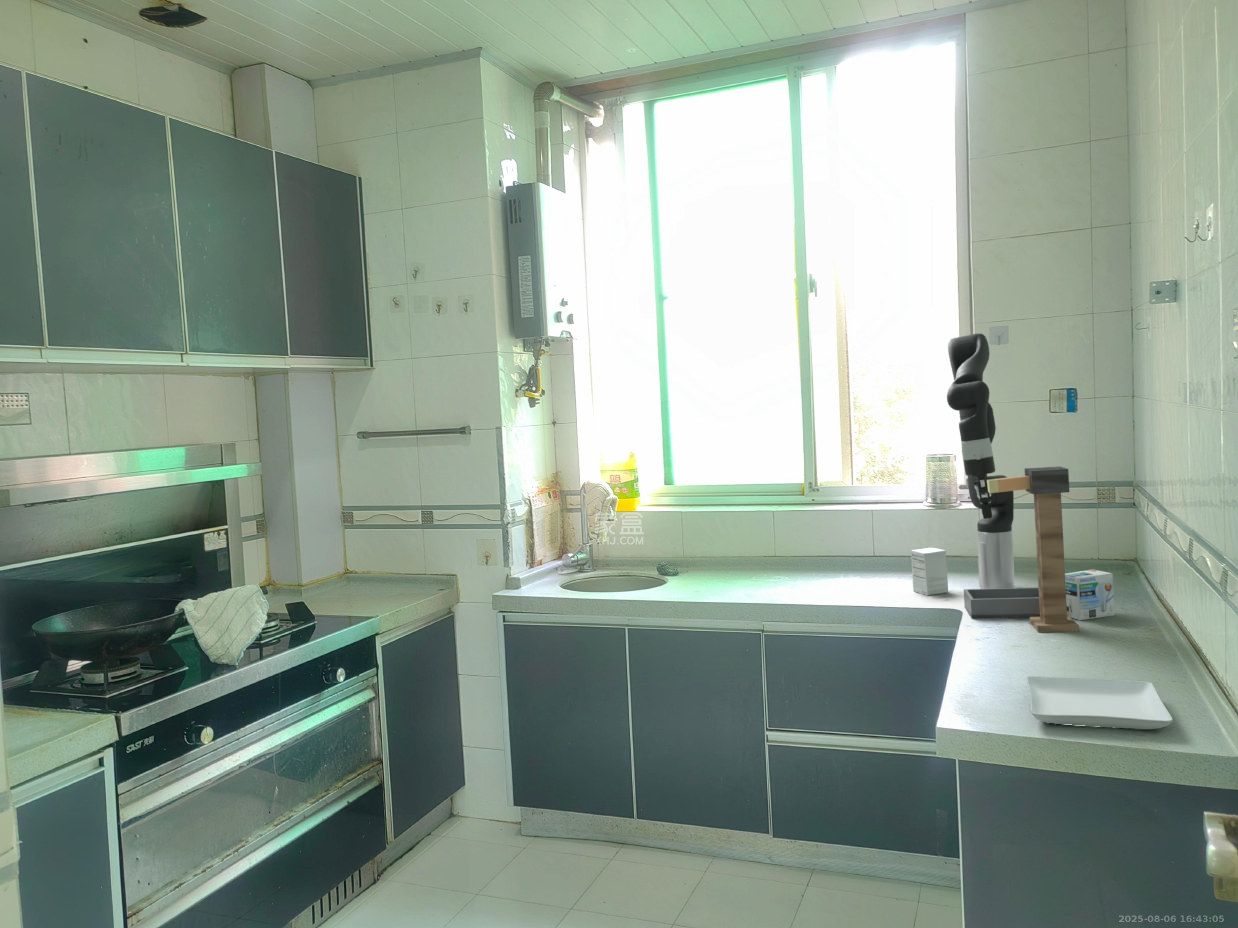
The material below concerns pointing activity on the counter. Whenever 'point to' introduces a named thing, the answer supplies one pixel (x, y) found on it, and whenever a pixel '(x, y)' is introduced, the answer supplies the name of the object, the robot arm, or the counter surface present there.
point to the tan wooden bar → (1008, 484)
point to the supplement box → (929, 571)
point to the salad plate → (1097, 702)
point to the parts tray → (1002, 603)
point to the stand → (1050, 548)
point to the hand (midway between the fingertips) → (987, 516)
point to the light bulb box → (1089, 594)
